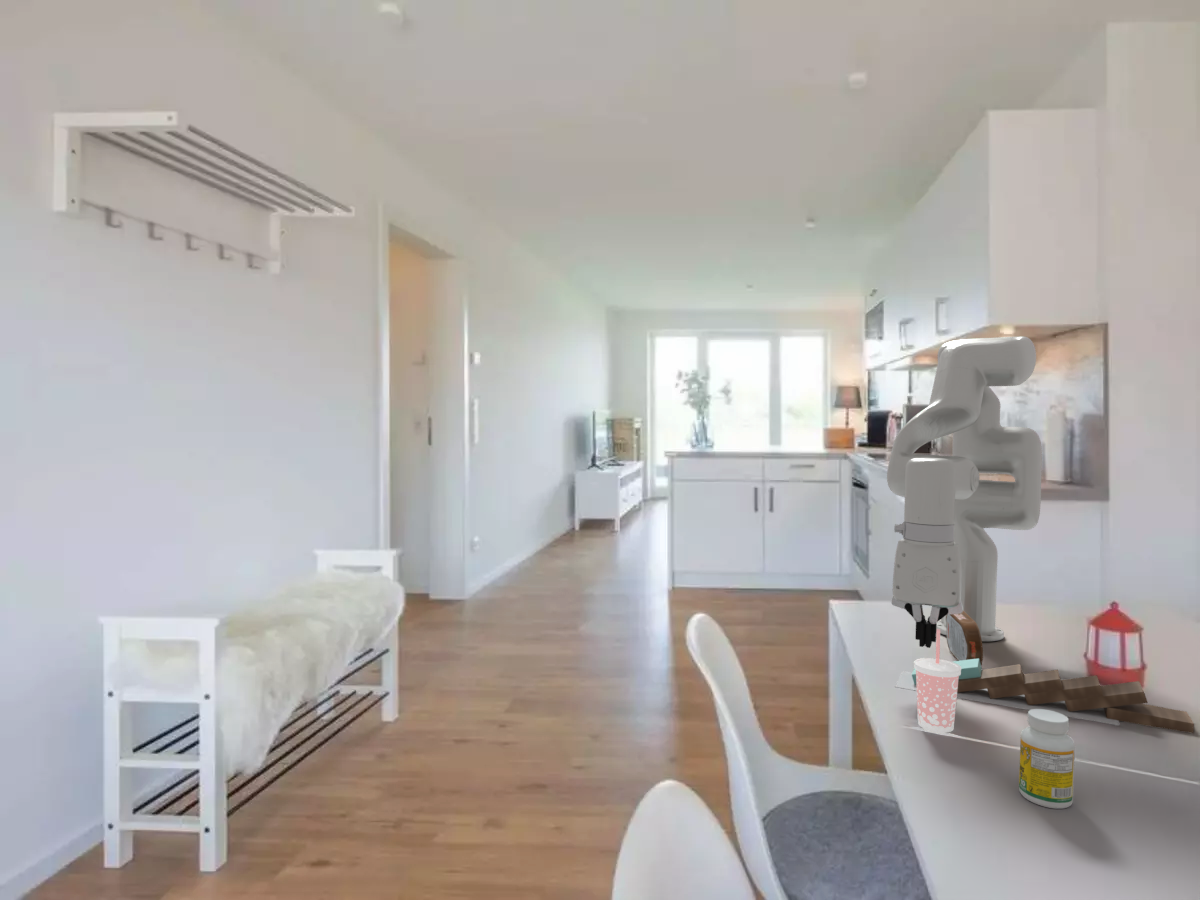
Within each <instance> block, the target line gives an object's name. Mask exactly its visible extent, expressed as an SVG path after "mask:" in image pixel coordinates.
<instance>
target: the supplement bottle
mask: <svg viewBox="0 0 1200 900" xmlns="http://www.w3.org/2000/svg"><path fill="white" fill-rule="evenodd" d="M1026 721H1027V724H1028V725H1029V726H1027V727H1025V728H1023V729H1022V731H1021V733H1020V745H1019V747H1020V749H1019V777H1018V780H1019V781H1018V791H1019V793H1020V794H1021V795H1022V797H1023V798H1025V800H1028V801H1029V802H1031V803H1033V804H1035V805H1038V806H1041V807H1045V808H1048V809H1054V810H1055V809H1056V810H1058V809H1066V808H1070V807H1071V806H1072V805H1073V802H1074V780H1075V753H1076V745H1075V741H1074V739H1073V738H1072V737H1071V736H1070V735H1069V734H1068V731H1069V730H1070V727H1069V725H1070V724H1069V721H1070V719H1069V717H1067V716H1065V715H1063V714H1060V713H1058V712H1054V711H1050V710H1045V709H1032V710H1027V720H1026Z"/></svg>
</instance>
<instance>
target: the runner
mask: <svg viewBox="0 0 1200 900" xmlns="http://www.w3.org/2000/svg"><path fill="white" fill-rule="evenodd" d="M912 672H913V671H912ZM912 672H911V671H906V670H905V671H904V670H902V671H901V673H900V675H899V677H898V679H897V681H896V682H895V685H894V688H897V689H903V690H904V689H905V690H910V691H916V692H917V686H916V684H914V681H913V678H912ZM957 699H962V700H963V699H964V700H969V701H974V702H980V703H986V704H991V705H998V706H1003V707H1009V708H1016V709H1021V710H1027V711H1029V710H1032V709H1045V710H1050V711H1054V712H1058V713H1060V714H1063V715H1065V716H1066V717H1067V718H1075V719H1078V720H1085V721H1091V722H1097V723H1102V724H1107V725H1114V726H1120V721H1119V720H1113V719H1108V718H1106V715H1105V712H1104V709H1103V708H1097V709H1088V710H1079V711H1070V712H1068V709H1067V706H1066V703H1065V701H1059V702H1051V703H1042V704H1034V705H1028V704H1027V701H1026V698H1025V695H1017V696H1009V697H1001V698H993V699H990V696H989V693H988V690H987V689H980V690H973V691H965V692H957Z"/></svg>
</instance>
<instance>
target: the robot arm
mask: <svg viewBox="0 0 1200 900" xmlns="http://www.w3.org/2000/svg"><path fill="white" fill-rule="evenodd" d="M1036 362H1037V350H1036V347H1035V344H1034V342H1033V340H1032V339H1030V337H1027V336H1005V337H1004V336H1003V337H1001V336H1000V337H999V336H998V337H978V338H976V337H975V338H964V339H962V338H961V339H956V340H951V341H948V342H945V343H943V344H942V345H941V346H939V349H938V351H937V366H936V371H935V375H934V381H933V386H932V391H931V393H930V399H929V404H928V406H926V407H925V408H924V409H922V410H921V411H919V412H918V413H917V414H915V415H914V416H913V417H912V418H911V419H910V420H908V421H907V422H906V423H905V424H904V425H903V426H902V427H901V429H900V430H899V431H898V433H897V434H896V436H895V439H894V441H893V443H892V447H891V452H890V454H889V455H890V456H889V460H888V464H887V471H886V480H887V481H886V483H887V486H888V489H889V490H890V491H891V492H892V494H894V495H897V496H899V497H904V508H903V509H904V511H903V512H904V514H903V515H904V516H903V519H904V520H903V522H901V523H899V524H897V523H895V524H894V530H893V531H894V533H899V534H901V536H902V538H901V539H898V541H897V545H896V550H895V555H894V556H895V557H894V563H893V564H894V565H893V575H892V598H891V601H890V602H891V605H892V606H893V607H897V608H900V609H903V610H906V612H907V613H908V614H909V615H910V616H911V617H912V619H913V621H915V640H917V641H919V644H918V645H919V647H921V648H924V647H926V648H928V649H930V648H931V647H932V643H936V635H937V629H940V635H942V636H943V635H944V636H946V635H947V626H946V615H948V614H960V613H962V612H963V611H964V612H965V613H966V614H967V615H969V616H970V617H971V618H972V619H973V620H974V621H975V622H976V623H977V625H978V628H979V631H980V634H981V639H982V642H998V641H1001V640H1003V639H1004V637H1005V632H1004V630H1003V629H1001V628H999V627H997V626H996V625H997V624H996V623H997V622H996V620H997V619H996V617H997V586H998V585H997V584H998V583H997V582H998V557H999V556H998V554H999V553H998V548H997V545H996V544H995V542H994V540H993V538H991V536H990V535H989V534H988V532H987V531H986V530H985V529H1001V530H1012V531H1015V530H1016V531H1028V530H1032V529H1034V528H1035V527H1036V526H1037V525H1038V523H1039V520H1040V515H1041V501H1042V500H1041V499H1042V497H1041V496H1042V471H1043V470H1042V466H1043V449H1042V442H1041V438H1040V436H1039V434H1038V433H1037V432H1036V431H1035V430H1034V429H1032V428H1031V427H1025V426H1001V401H1000V399H999V397H998V396H997V395H996V393H995V392H994V391H993V390H992V388H991V387H1016V386H1020V385H1023V383H1024V382H1026V381H1028V379H1029V378H1030V377H1031V376H1032V375H1033V373H1034V371H1035V367H1036V364H1037V363H1036ZM951 434H952V449H951V450H952V452H951V453H952V455H939V454H938V455H937V454H914V453H915V452H916V451H917V450H918V449H919V448H921V447H922V446H924V445H925V444H928V443H930V442H931V441H934V440H936V439H939V438H942V437H943V438H944V437H945V436H948V435H951ZM980 474H995V475H1010V476H1012V477H1013V478H1014V481H1008V480H1007V481H1003V480H992V479H990V480H989V479H980ZM923 606H929V607H931V610H930V615H929V616H928V617H927V619H926V616H925V615H924V610H923Z"/></svg>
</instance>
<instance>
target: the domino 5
mask: <svg viewBox="0 0 1200 900" xmlns="http://www.w3.org/2000/svg"><path fill="white" fill-rule="evenodd" d="M1100 686H1101V689H1102V693H1103V696H1101V697H1093V698H1085V699H1076V700H1068V701H1065V703H1066V706H1067V709H1068V712H1070V711H1079V710H1088V709H1097V708H1106V707H1115V706H1124V705H1133V704H1147V703H1149V702H1148V699H1147V697H1146V694H1145V691H1144V689H1143V686H1142V684H1141V682H1140V681H1138V680H1137V681H1130V682H1129V681H1128V682H1121V683H1112V684H1106V685H1100Z"/></svg>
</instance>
